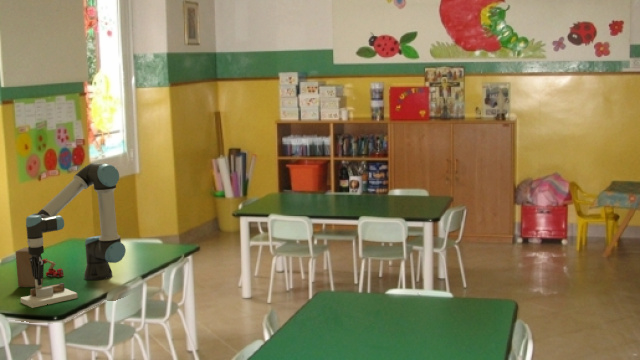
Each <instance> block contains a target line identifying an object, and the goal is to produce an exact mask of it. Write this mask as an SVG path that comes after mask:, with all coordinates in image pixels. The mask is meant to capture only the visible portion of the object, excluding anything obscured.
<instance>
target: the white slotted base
mask: <svg viewBox="0 0 640 360" xmlns="http://www.w3.org/2000/svg"><path fill="white" fill-rule="evenodd" d="M45 287H46V286H45ZM78 298H79V296H78V292H75V291H73V290H70V289H68V288H65V290H63V291H58V292H53V287H46V288H41V289H36V296H31V295H28V296H27V295H26V296H22V297H20V303H21V304H23V305H25V306H28V307H30V308H32V309H34V308H38V307H43V306H46V305H47V304H48V305H52V304H56V303H60V302H64V301H70V300H74V299H78Z"/></svg>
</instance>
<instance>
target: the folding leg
mask: <svg viewBox="0 0 640 360" xmlns="http://www.w3.org/2000/svg"><path fill="white" fill-rule="evenodd" d="M46 287H53V292H58V291H63V290H65V283H63V282H61V283H57V284H52V285H51V284H50V285H47V286H42V287H41V288H46ZM41 288H36V287H34V288H30V290H29V292H30V296H36V289H41Z"/></svg>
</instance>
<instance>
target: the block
mask: <svg viewBox="0 0 640 360" xmlns="http://www.w3.org/2000/svg"><path fill="white" fill-rule="evenodd" d="M29 258H31V255H30V254H29V253H28V246H26V247H23V248H20V249H19V250H16V251H15V260H16V261H15V262H16V274H17V286H18V287H19V288H36V285H35V278H34V277H33V274H32V269H31V263H30V260H29ZM41 281H42V284H43V283H44V277H43V278H42V279H41Z"/></svg>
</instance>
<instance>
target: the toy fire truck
mask: <svg viewBox="0 0 640 360" xmlns="http://www.w3.org/2000/svg"><path fill="white" fill-rule="evenodd" d="M42 261H44V265H45V264H48V263H49V264H50V266H49V267H48V270H47V271H46V272H45V276H47V277H50V278H52V277H57V278H61V277H64V269H63V268H56V269H55V268H54V267H55V266H56V265H57V263H56V262H55V261H52V260H48V258H42Z"/></svg>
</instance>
